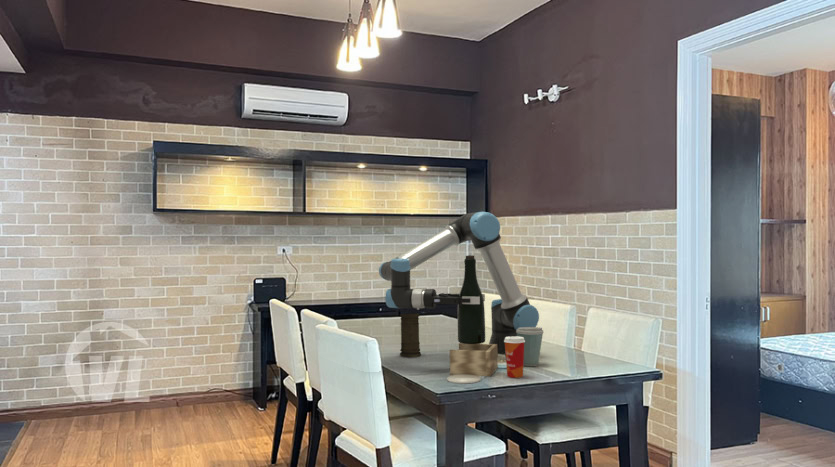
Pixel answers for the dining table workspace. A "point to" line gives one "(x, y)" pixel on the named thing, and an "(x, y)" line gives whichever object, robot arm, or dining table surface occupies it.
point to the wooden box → (474, 359)
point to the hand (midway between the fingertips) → (482, 299)
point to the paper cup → (514, 356)
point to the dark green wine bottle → (471, 307)
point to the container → (410, 335)
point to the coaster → (463, 378)
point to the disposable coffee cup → (531, 344)
